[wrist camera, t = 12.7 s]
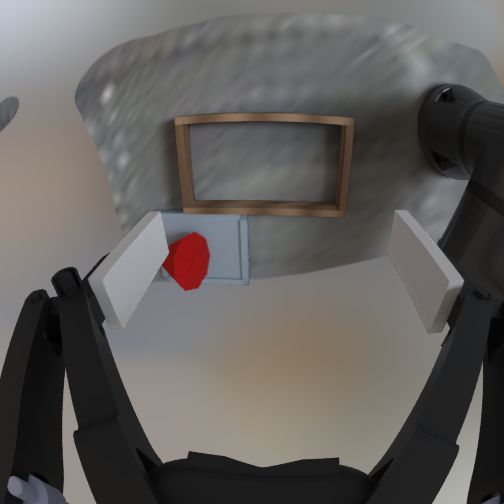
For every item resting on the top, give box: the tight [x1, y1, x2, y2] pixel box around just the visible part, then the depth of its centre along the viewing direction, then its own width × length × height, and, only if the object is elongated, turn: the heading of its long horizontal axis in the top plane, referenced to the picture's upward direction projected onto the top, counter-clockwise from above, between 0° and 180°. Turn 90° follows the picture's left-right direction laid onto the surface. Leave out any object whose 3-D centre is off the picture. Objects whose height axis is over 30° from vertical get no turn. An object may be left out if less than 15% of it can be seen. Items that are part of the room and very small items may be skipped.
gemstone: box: [161, 232, 210, 291], centre depth 44 cm, size 9×9×10 cm
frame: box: [175, 112, 354, 218], centre depth 37 cm, size 23×14×3 cm, turn 91°
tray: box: [154, 210, 249, 285], centre depth 46 cm, size 15×13×2 cm
